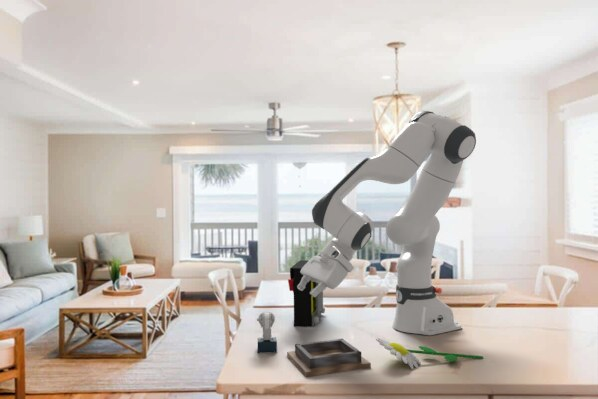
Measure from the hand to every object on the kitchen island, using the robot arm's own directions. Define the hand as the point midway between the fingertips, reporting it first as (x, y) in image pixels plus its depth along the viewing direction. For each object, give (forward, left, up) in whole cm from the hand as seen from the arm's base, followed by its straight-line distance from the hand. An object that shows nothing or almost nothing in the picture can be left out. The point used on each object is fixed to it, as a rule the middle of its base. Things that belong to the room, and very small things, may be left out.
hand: (305, 292), depth 147 cm
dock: (-1, +16, -16) cm, 22 cm away
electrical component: (-10, -25, -16) cm, 32 cm away
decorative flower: (-27, +25, -16) cm, 40 cm away
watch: (+12, +1, -16) cm, 20 cm away
